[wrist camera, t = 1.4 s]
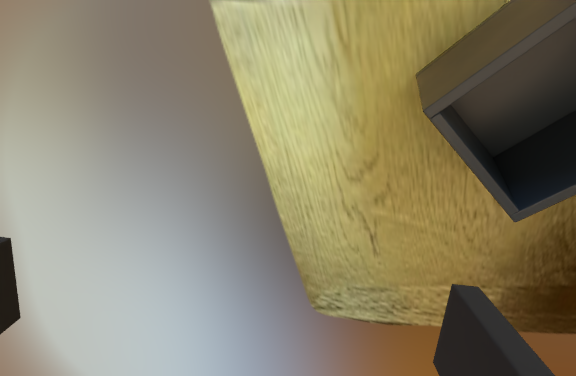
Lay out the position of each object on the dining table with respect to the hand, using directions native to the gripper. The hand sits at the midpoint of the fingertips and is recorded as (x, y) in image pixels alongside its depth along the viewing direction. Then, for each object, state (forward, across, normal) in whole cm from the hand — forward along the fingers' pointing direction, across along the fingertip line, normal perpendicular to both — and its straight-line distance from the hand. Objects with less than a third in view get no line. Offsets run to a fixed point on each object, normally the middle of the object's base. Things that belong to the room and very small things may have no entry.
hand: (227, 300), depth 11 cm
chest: (+24, +21, +10) cm, 33 cm away
